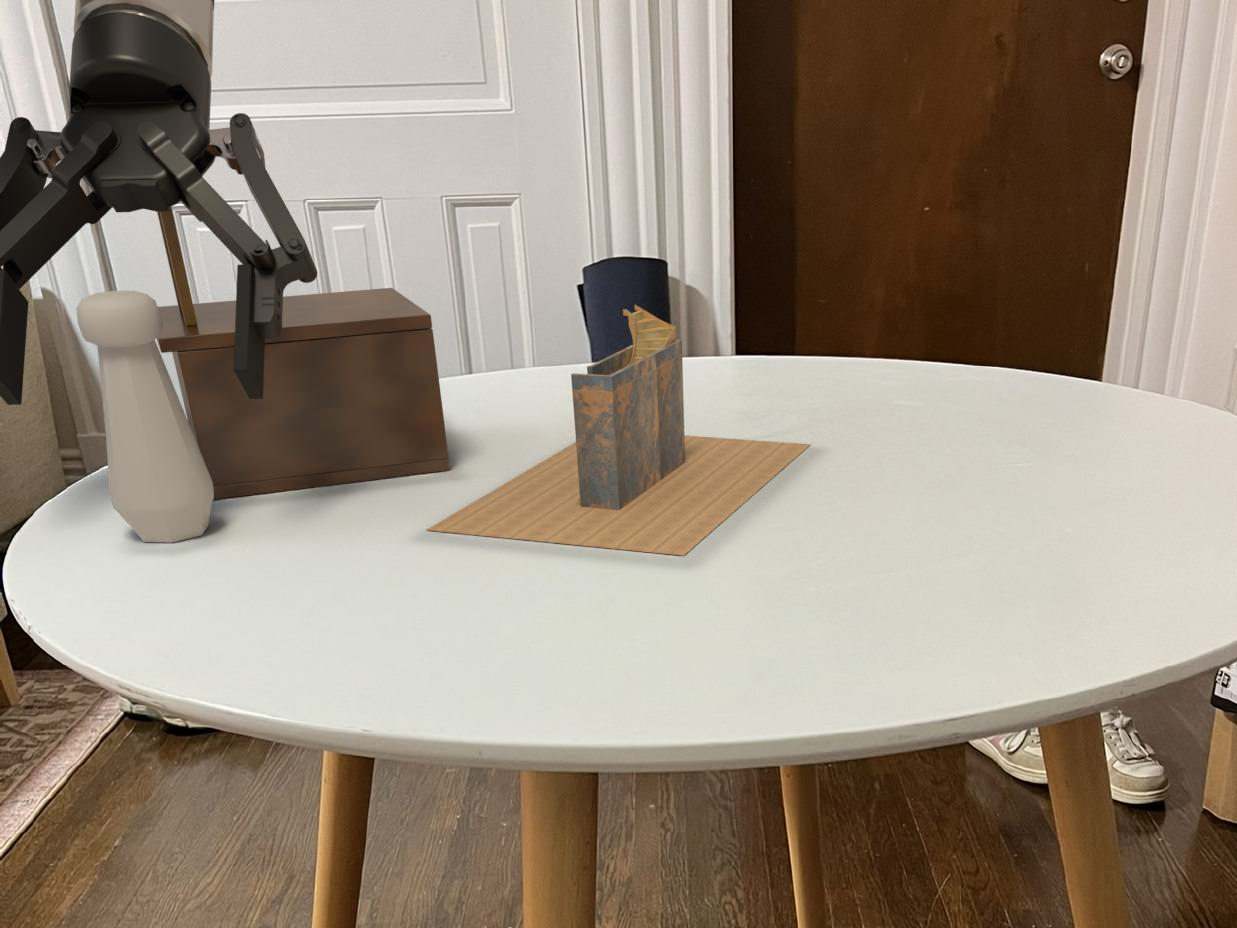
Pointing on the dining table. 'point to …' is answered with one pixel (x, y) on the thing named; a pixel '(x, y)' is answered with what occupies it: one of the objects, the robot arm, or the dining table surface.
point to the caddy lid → (299, 318)
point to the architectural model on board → (629, 463)
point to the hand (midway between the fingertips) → (125, 388)
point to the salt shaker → (145, 422)
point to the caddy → (317, 412)
